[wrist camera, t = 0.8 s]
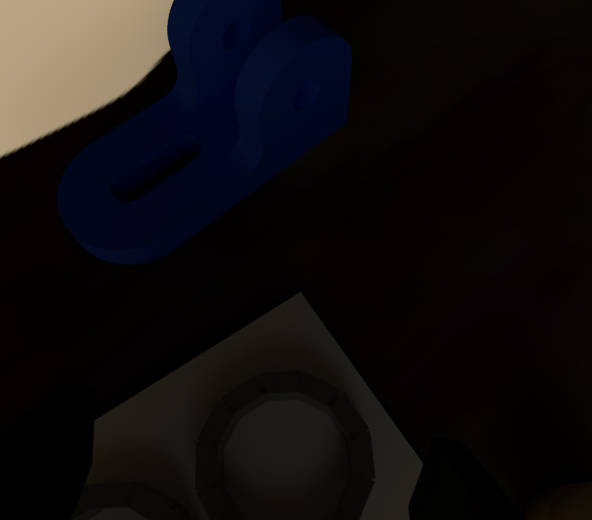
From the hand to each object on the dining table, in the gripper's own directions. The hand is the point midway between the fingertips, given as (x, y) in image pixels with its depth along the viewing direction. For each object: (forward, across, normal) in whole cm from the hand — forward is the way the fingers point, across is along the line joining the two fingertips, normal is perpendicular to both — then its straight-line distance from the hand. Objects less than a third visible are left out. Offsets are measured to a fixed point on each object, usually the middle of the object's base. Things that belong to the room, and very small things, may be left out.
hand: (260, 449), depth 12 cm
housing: (+10, +1, +14) cm, 17 cm away
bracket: (+26, +5, +1) cm, 27 cm away
